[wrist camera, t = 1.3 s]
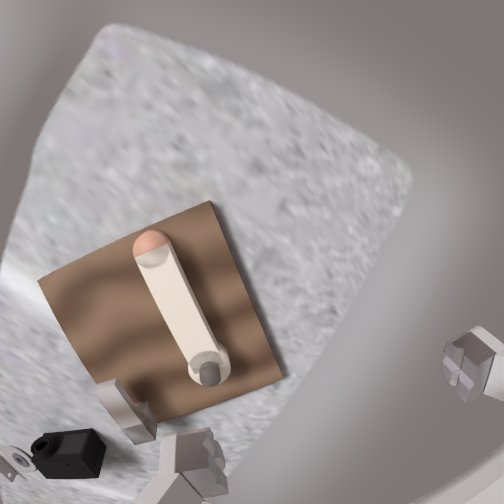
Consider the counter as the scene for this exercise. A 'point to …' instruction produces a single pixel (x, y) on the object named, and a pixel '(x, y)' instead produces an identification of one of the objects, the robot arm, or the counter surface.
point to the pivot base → (159, 326)
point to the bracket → (15, 462)
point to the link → (178, 303)
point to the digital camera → (69, 454)
